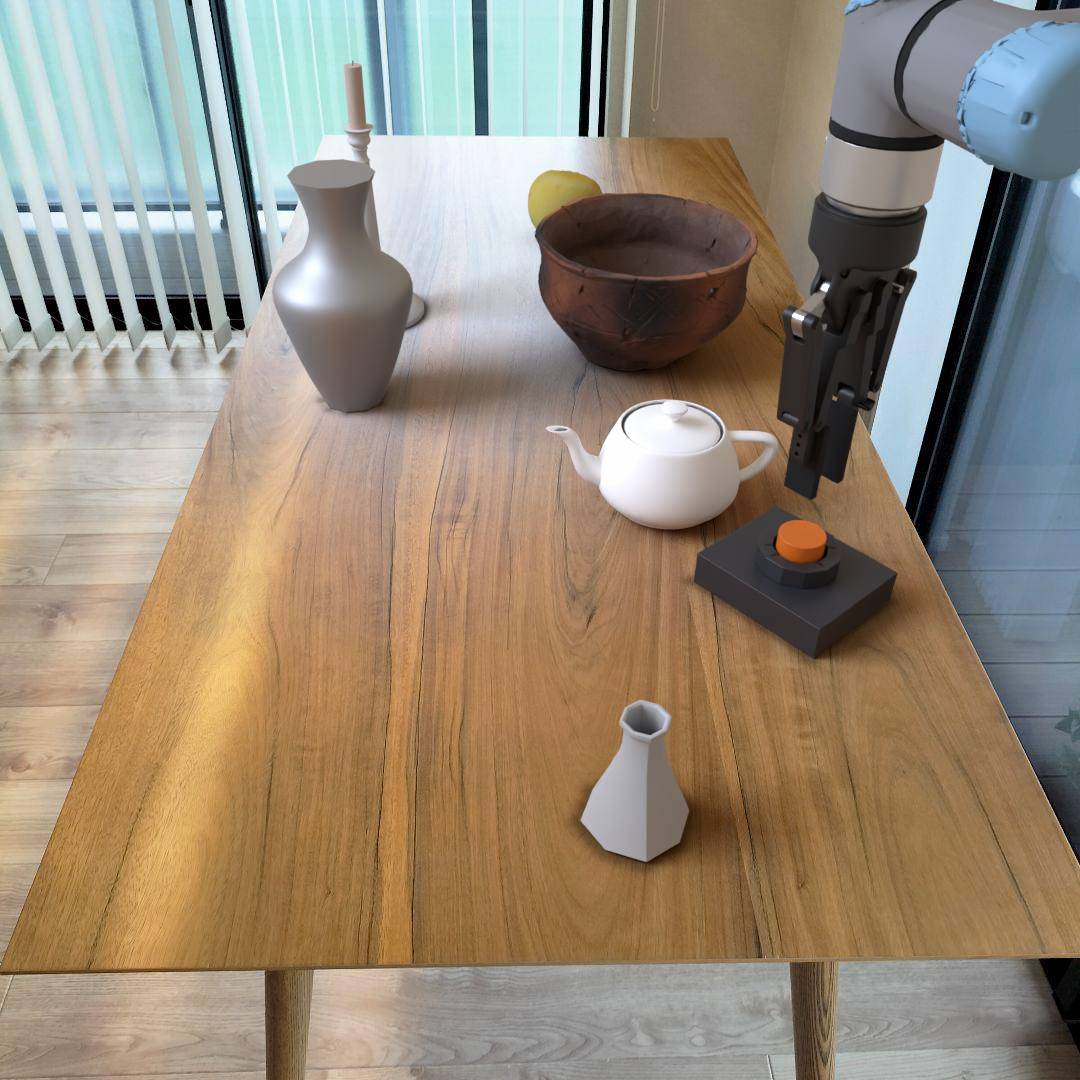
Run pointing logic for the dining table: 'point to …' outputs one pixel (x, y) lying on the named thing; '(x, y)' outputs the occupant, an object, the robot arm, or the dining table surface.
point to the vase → (342, 290)
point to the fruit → (557, 192)
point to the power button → (801, 541)
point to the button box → (794, 583)
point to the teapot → (668, 463)
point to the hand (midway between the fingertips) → (813, 482)
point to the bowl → (642, 275)
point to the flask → (638, 790)
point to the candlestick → (367, 160)
